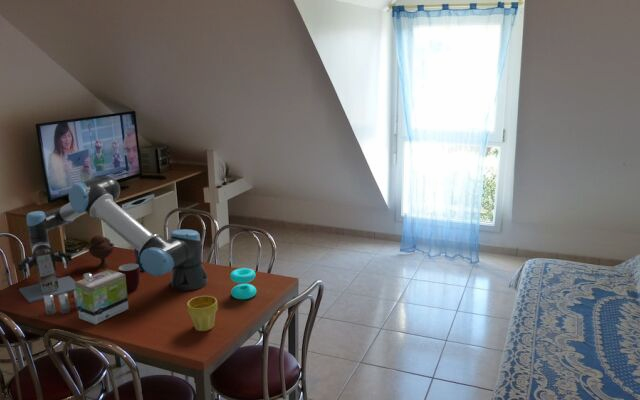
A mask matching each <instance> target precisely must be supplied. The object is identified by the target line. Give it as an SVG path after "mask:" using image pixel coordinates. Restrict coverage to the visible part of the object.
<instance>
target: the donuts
mask: <svg viewBox="0 0 640 400" xmlns="http://www.w3.org/2000/svg"><path fill="white" fill-rule="evenodd" d="M229 275H230V276H229V278H230V279H231V281H232V282H234V283H236V284H237V283H238V284H237V285H235V286H234V287H233V288H232V289H231V291H230V292H231V293H230V294H231V297H233V298H235V299H236V300H248V299H252V298H253V297H254V296H255V295H256V294H257V291H258V290H257V288H256V287H255V286H254V285H253V284H250V282H252V281H253V280H255V279H256V276H257V275H256V272H255V270H254V269H252V268H249V267H248V268H247V267H242V268H241V267H240V268H237V269H234V270H232V271H231V273H230V274H229Z"/></svg>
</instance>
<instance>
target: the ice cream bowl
mask: <svg viewBox="0 0 640 400" xmlns="http://www.w3.org/2000/svg"><path fill="white" fill-rule="evenodd" d="M89 243H90V246H88V252H89V254H90V255H92V256H93V257H94V258H97V259H100V263H99V264H97V268H98V269H106V267H107V268H109V267H110V266H111V264H110V263H109V262H106V258H107V257H109V256H110V255H111V254H112V253H113V252H114V247H115V246H114V245H115V244H114V243H112V242H111V239H110V238H108V237H106V236H102V235H101V234H96V235H93V236H92V237H91V239H90V241H89ZM108 266H109V267H108Z"/></svg>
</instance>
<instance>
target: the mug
mask: <svg viewBox="0 0 640 400" xmlns="http://www.w3.org/2000/svg"><path fill="white" fill-rule="evenodd" d="M118 272H119V273H123V274H125V276H126V287H127V293H128V292H135V291H137V290H138V287H139V284H140V278H141V277H140V276H141V270H140V268H139V265H138V264H136V262H134V263H133V262H132V263H131V262H130V263H125V264H122V265H120V266H119V267H118Z"/></svg>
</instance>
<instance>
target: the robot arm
mask: <svg viewBox="0 0 640 400" xmlns="http://www.w3.org/2000/svg"><path fill="white" fill-rule="evenodd" d="M120 193H121V187H120V183H119V182H118V181H117V180H116V179H115V178H114V177H111V176H99V177H96V178H92V179H88V180H84V181H79V182H78V183H75V184H73V185H72V186H71V187H70V189H69V192H68V200H69V202H68V203H66V204H64V205H63V206H62V207H59V208H58V209H55V210H53V211H50V212H46V213H45V212H44V211H43V210H37V211H36V210H35V211H31V212H28V213H27V214H26V224H27V225H26V226H27V230H28V235H29V237H28V238H29V245H30V249H31V254H32V257H29V256H28V255H27V256H25V258H24V259H22V260H21V261H20V262H19V263H18V264H17V269H18V271H23V273H26V272H27V276H28V277H29V276H31V274H30V273H31V272H30V268H32V267H34V266H37V262H36V255H35V250H39V249H43V248H49V247H51V246H50V240H49V231H50V230H53V229H56V228H58V227H62V226H65V225H69V224H70V223H73V222H74V221H75V219H77V218H79V217H80V216H82V215H84V214H86V213H87V215H89V216H90V217H91V218H93V219H95V218H99V220H101V221H102V222H103V223H104V224H105V225H107V226H108V227H109V228H110V229H111V230H113V232H114V233H117V235H119V236H120V237H121V238H122V239H123V240H124V241H125V242H127V243H128V244H129V245H130V246H131V247H133V248H135V249H136V250H138V251H139V253H138V255H139V257H140V263H141V264H142V265H143V266H142V267H143V269H144V271H145V272H146V273H148V274H149V275H150V276H154V277H159V276H164V275H167V274H169V273H171V276H170V287H171V288H173V289H174V290H177V291H183V292H184V291H185V292H187V291H194V290H198V289H201V288H203V287H205V286H206V285H207V284H208V283H209V281H208V280H209V279H208V275H207V272H206V270H205V268H204V266H203V257H202V245H201V243H202V242H201V241H202V240H201V237H200V235H201V234H200V233H199V232H198V231H197V230H194V229H184V228H183V229H175V230H172V231H171V232H170V238H168V239H166V238H164V237H163V236H162V235H161V234H159V233H158V234H157V233H156V234H153V233H152V232H151V231H150V230H148V228H146V227H145V226H144V225H142V224H141V223H140V222H139V221H138V220H136V219H135V218H134V217H133V216H132V215H130V214H129V212H127V211H125V210H124V209H123V208H122V207H121V206H119V205H118V204H117V203H116V202H115V201H116V200H117V199H119V197H120V195H121V194H120ZM135 249H134V250H135ZM54 259H55V262H57V263H58V262H59V263H62V264H63V265H62V266H63V267H64V269H68V268H67V265H69V262H72V261H73V259H72V255H71V254H68V253H65V252H62V251H61V250H58V251H57V252H56V253H54ZM171 271H172V272H171Z"/></svg>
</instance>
